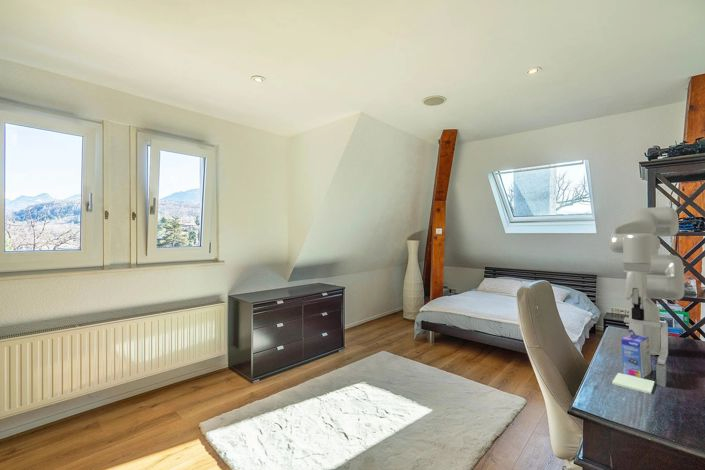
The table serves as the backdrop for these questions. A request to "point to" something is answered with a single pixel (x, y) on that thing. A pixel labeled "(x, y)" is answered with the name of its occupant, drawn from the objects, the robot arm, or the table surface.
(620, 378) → the felt pad
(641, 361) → the ink cartridge box
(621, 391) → the table surface
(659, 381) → the rail block
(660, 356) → the grey angled frame
